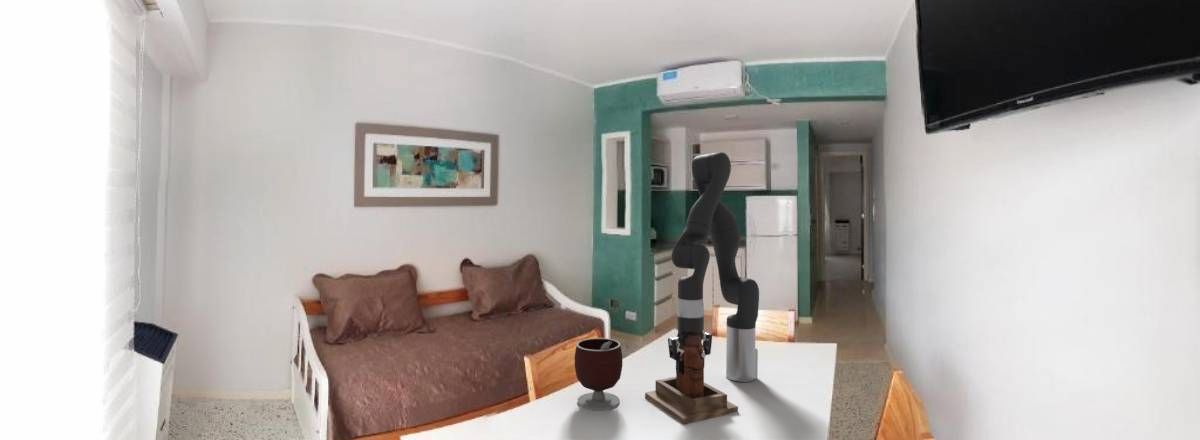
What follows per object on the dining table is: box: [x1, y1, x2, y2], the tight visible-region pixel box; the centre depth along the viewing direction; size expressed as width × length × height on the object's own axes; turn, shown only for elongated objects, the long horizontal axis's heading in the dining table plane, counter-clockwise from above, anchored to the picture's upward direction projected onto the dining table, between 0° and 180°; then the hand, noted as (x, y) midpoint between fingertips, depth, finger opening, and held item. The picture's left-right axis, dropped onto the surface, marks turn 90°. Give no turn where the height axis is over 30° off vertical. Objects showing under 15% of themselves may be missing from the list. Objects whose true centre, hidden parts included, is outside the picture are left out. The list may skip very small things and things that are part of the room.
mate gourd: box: [574, 337, 623, 412], centre depth 145 cm, size 16×14×20 cm
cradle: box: [644, 376, 739, 425], centre depth 144 cm, size 18×20×5 cm
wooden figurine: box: [675, 333, 705, 399], centre depth 144 cm, size 12×6×18 cm, turn 17°
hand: (690, 371), depth 144 cm, fingers closed on wooden figurine, 6 cm apart
